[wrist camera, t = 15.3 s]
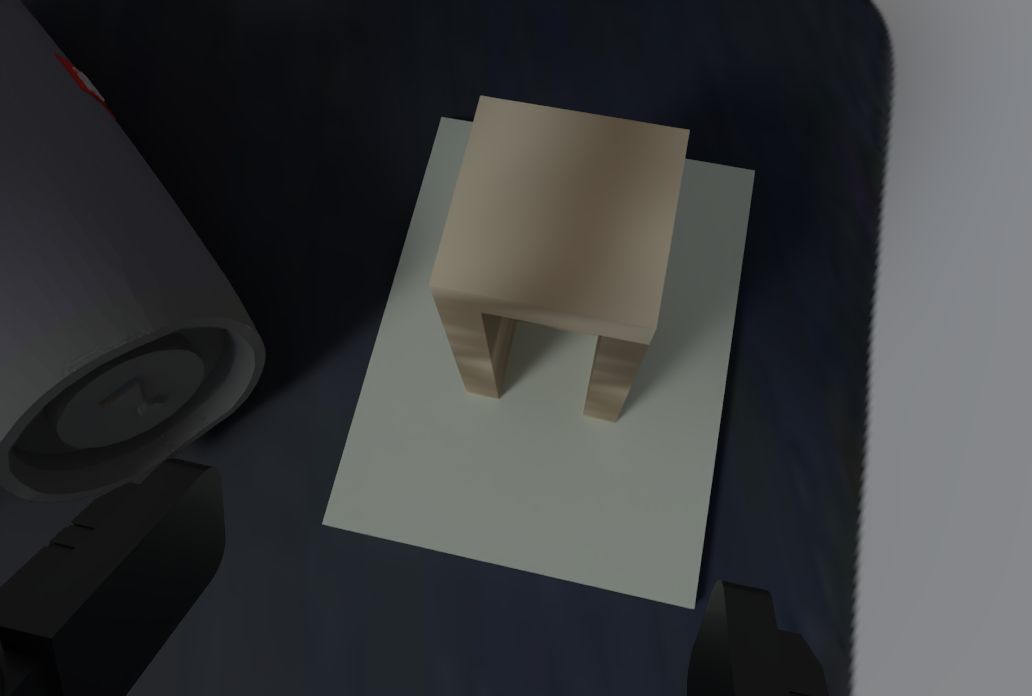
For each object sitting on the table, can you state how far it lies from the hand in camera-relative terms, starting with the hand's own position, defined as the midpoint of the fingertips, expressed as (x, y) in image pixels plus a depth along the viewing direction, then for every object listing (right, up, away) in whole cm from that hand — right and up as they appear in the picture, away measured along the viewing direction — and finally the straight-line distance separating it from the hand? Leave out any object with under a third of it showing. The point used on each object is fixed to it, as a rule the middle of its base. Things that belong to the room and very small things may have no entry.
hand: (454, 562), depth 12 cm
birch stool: (+2, +4, +16) cm, 17 cm away
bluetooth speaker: (-17, +8, +19) cm, 27 cm away
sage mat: (+2, +4, +17) cm, 17 cm away
